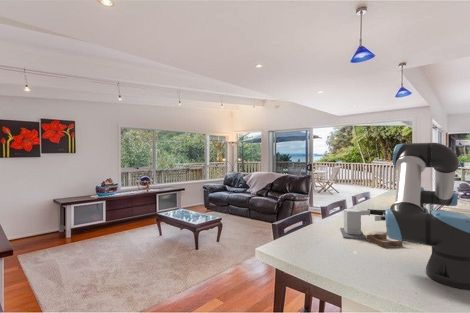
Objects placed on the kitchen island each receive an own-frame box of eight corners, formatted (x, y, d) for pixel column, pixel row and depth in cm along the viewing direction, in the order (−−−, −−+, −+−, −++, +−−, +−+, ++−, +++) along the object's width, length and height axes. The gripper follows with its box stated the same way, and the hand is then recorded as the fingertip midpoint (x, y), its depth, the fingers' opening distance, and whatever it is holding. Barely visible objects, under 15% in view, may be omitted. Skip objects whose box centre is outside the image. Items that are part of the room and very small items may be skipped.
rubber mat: (366, 240, 133) (366, 238, 133) (343, 238, 136) (343, 236, 136) (360, 230, 150) (360, 229, 150) (340, 229, 154) (340, 227, 154)
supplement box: (361, 234, 139) (361, 211, 139) (347, 234, 141) (346, 211, 141) (357, 231, 147) (357, 209, 147) (343, 230, 148) (343, 208, 148)
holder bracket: (385, 238, 135) (385, 233, 135) (402, 246, 124) (402, 241, 124) (366, 239, 134) (366, 234, 134) (382, 247, 122) (382, 242, 122)
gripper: (419, 226, 135) (382, 228, 132) (385, 215, 160) (353, 216, 157) (419, 212, 135) (382, 213, 132) (385, 203, 160) (353, 204, 157)
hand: (366, 215), depth 145 cm, fingers open, 13 cm apart
